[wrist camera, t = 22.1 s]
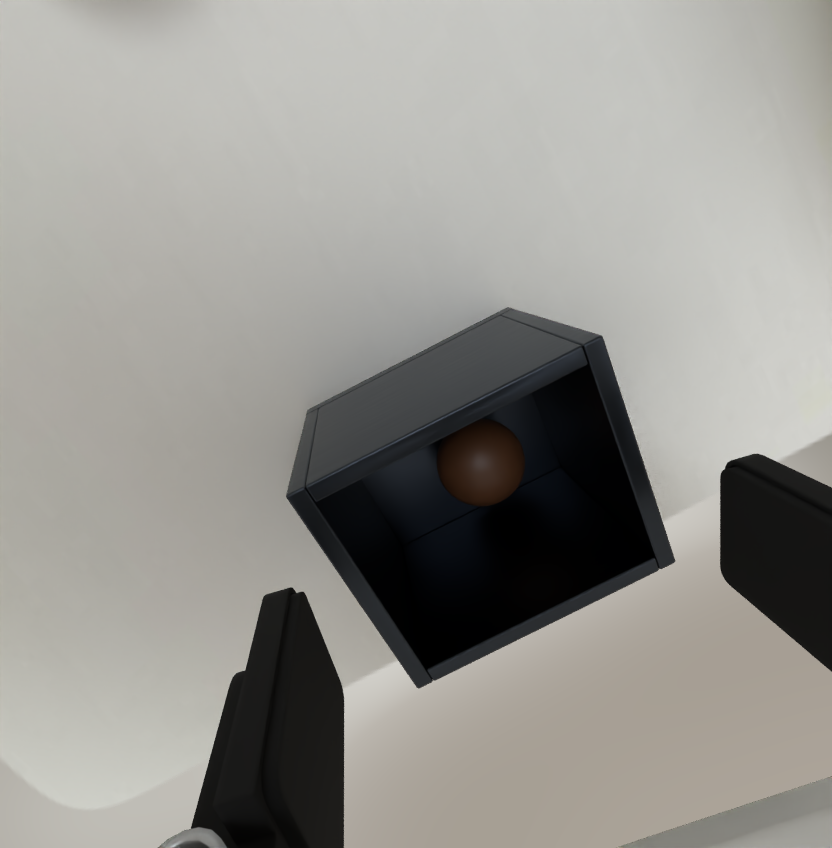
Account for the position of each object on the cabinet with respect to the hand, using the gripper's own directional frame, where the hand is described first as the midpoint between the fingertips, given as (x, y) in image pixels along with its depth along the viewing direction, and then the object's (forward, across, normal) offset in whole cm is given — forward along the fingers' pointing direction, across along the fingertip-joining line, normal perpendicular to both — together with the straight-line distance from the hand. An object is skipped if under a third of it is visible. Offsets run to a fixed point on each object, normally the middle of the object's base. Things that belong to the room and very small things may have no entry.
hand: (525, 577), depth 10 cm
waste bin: (+8, 0, 0) cm, 8 cm away
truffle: (+6, -1, 0) cm, 6 cm away
